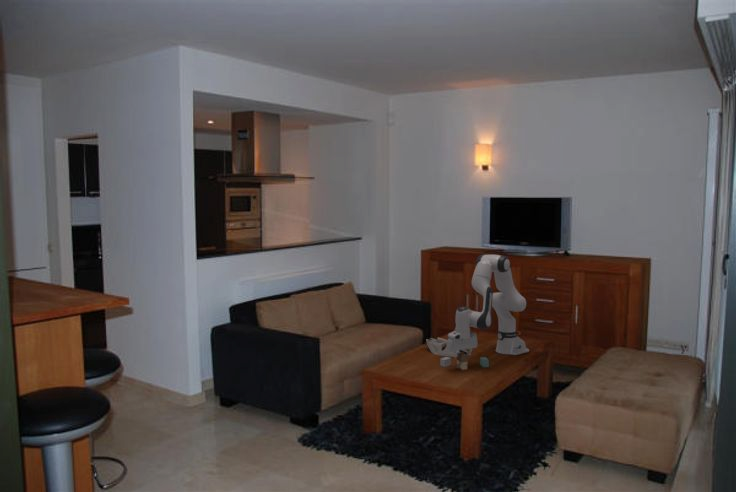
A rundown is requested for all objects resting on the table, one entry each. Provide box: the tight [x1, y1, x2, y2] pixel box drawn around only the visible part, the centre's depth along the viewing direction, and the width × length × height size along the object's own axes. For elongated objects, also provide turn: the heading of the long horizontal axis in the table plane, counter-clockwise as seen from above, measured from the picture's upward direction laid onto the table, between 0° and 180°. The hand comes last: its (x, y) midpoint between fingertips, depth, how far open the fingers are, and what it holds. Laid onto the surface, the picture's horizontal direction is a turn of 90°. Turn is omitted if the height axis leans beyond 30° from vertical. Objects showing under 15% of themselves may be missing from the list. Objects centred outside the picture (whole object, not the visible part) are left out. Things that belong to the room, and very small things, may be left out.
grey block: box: [439, 356, 452, 368], centre depth 376 cm, size 6×4×4 cm, turn 136°
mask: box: [425, 336, 469, 358], centre depth 406 cm, size 20×9×30 cm
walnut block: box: [456, 351, 469, 363], centre depth 371 cm, size 6×4×4 cm, turn 26°
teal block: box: [479, 356, 490, 368], centre depth 376 cm, size 6×4×4 cm, turn 6°
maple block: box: [456, 359, 468, 371], centre depth 371 cm, size 6×4×4 cm, turn 26°
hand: (462, 356), depth 370 cm, fingers open, 8 cm apart
